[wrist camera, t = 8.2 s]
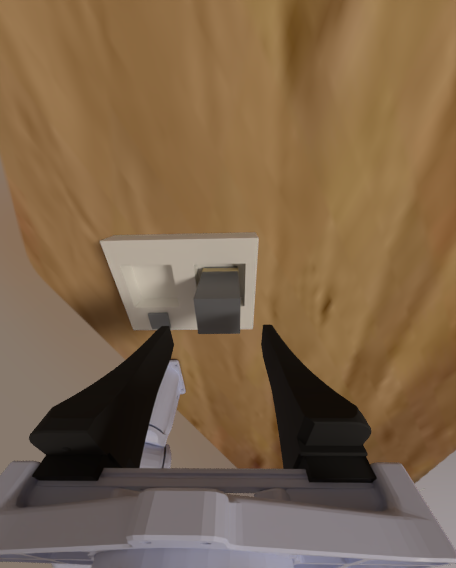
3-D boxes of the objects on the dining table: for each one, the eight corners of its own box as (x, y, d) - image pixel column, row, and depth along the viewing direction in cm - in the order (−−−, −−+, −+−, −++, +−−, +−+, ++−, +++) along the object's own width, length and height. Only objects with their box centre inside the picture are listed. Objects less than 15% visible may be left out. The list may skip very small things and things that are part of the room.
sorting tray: (250, 316, 25) (253, 331, 22) (141, 318, 25) (132, 332, 23) (255, 232, 19) (259, 238, 17) (114, 235, 19) (96, 242, 17)
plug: (237, 294, 22) (240, 333, 16) (206, 295, 23) (197, 334, 16) (237, 265, 21) (241, 297, 14) (203, 266, 21) (192, 298, 14)
